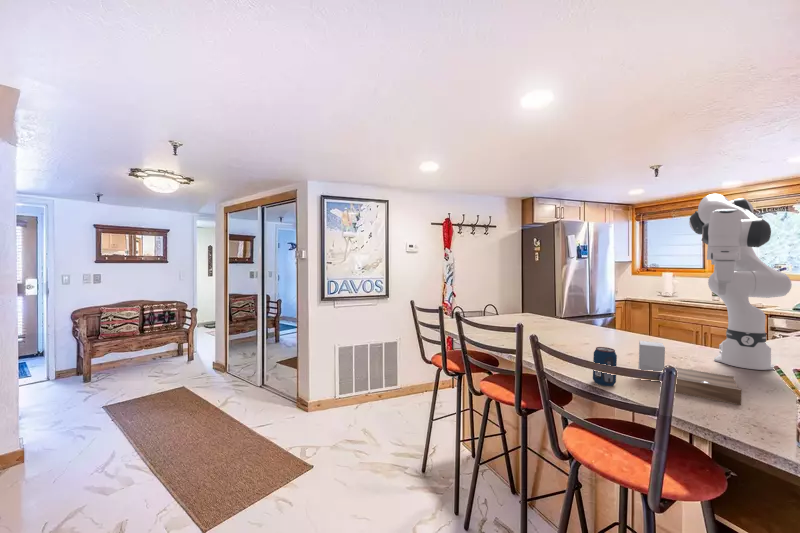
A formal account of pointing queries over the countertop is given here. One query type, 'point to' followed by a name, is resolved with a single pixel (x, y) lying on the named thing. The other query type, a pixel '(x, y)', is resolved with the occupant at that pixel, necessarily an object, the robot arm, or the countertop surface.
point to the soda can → (608, 358)
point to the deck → (708, 386)
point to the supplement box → (651, 356)
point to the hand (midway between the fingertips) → (721, 294)
